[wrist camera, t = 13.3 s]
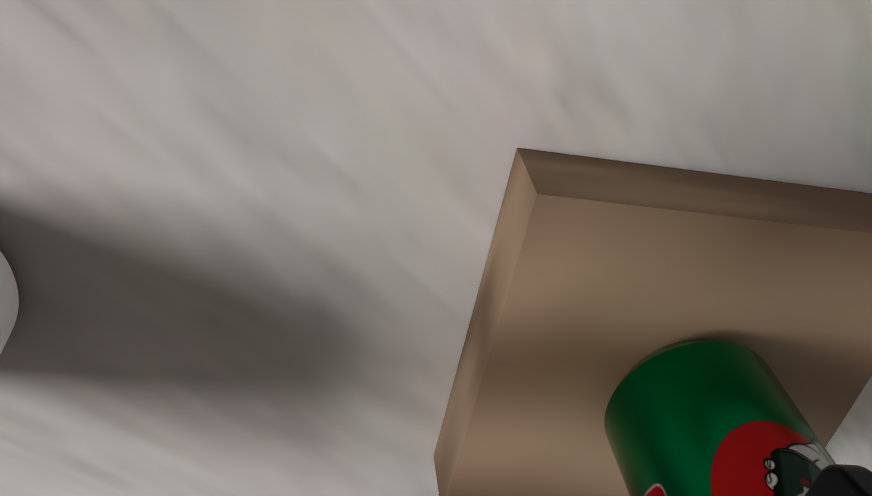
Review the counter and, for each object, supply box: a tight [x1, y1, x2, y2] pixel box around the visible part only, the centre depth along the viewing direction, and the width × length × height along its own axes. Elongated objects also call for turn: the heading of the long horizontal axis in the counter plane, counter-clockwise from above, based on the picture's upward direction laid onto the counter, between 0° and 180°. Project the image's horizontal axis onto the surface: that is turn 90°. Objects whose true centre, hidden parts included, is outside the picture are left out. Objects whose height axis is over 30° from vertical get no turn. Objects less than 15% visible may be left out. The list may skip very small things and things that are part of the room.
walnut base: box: [434, 148, 872, 496], centre depth 24 cm, size 12×12×2 cm
